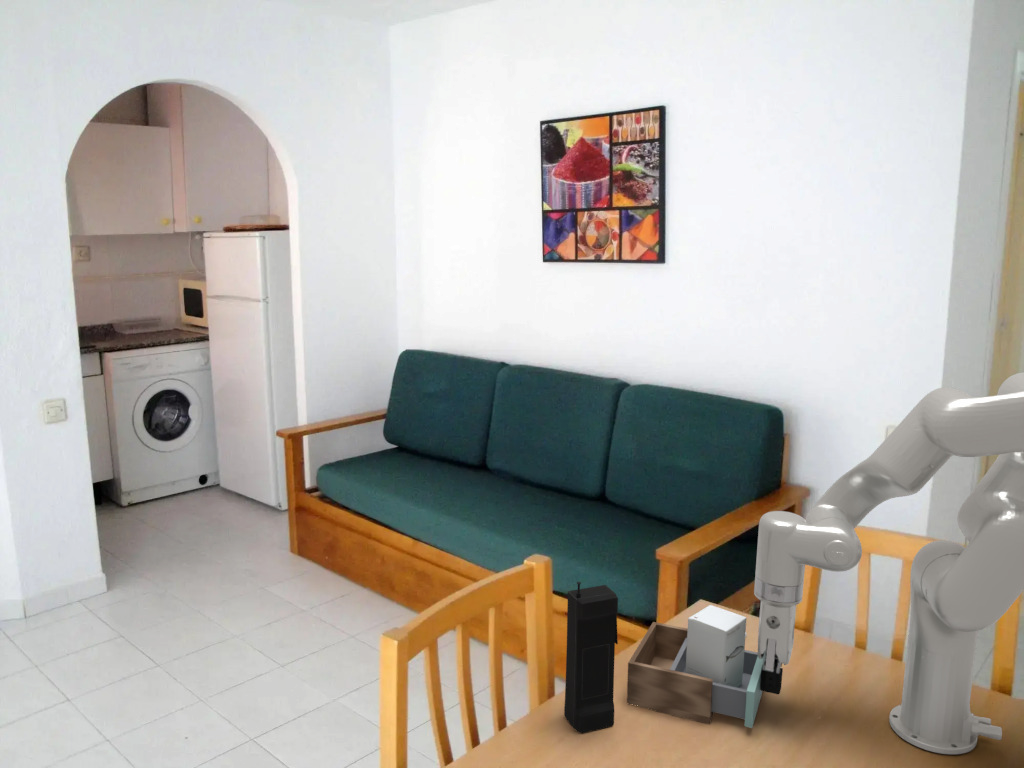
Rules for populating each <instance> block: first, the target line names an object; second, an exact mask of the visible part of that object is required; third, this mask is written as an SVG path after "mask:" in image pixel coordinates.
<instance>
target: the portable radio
mask: <svg viewBox="0 0 1024 768" xmlns="http://www.w3.org/2000/svg"><path fill="white" fill-rule="evenodd" d="M576 584H577V589H573V590H569V591H567V608H566V609H567V611H566V612H567V615H566V618H567V619H566V657H565V658H566V659H565V661H566V662H565V663H566V664H565V686H564V687H565V689H564V690H565V691H564V708H563V709H564V710H563V711H564V712H563V713H564V719H566V720H567V723H568V724H569V725H570V726H571V727H572V728H573V730H575V731H576V732H578V733H579V734H586V733H589V732H593V731H597V730H602V729H606V728H610V727H613V726H614V724H615V703H614V691H615V690H614V687H615V686H614V684H615V683H614V682H615V678H614V677H615V654H616V653H615V650H616V649H615V646H616V645H618V644H619V642H618V641H619V640H618V616H617V615H618V614H617V613H618V608H619V598H618V596H617V593H615V592H614V590H612V589H611V588H610V587H609V586H608V585H605V584H602V585H597V586H591V587H585V588H581V584H582V582H581V581H577V582H576Z"/></svg>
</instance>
